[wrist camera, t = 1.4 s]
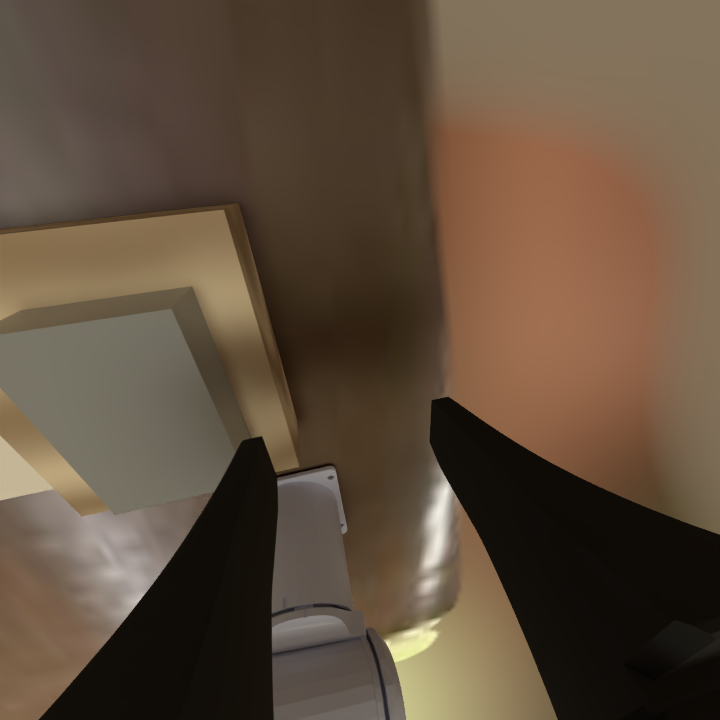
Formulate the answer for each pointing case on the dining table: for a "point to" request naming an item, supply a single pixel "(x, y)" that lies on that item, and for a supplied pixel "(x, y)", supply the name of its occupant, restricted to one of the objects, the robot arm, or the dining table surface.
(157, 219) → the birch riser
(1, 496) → the placemat
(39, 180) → the dining table surface
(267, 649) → the robot arm
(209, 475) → the slate tile
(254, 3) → the dining table surface
